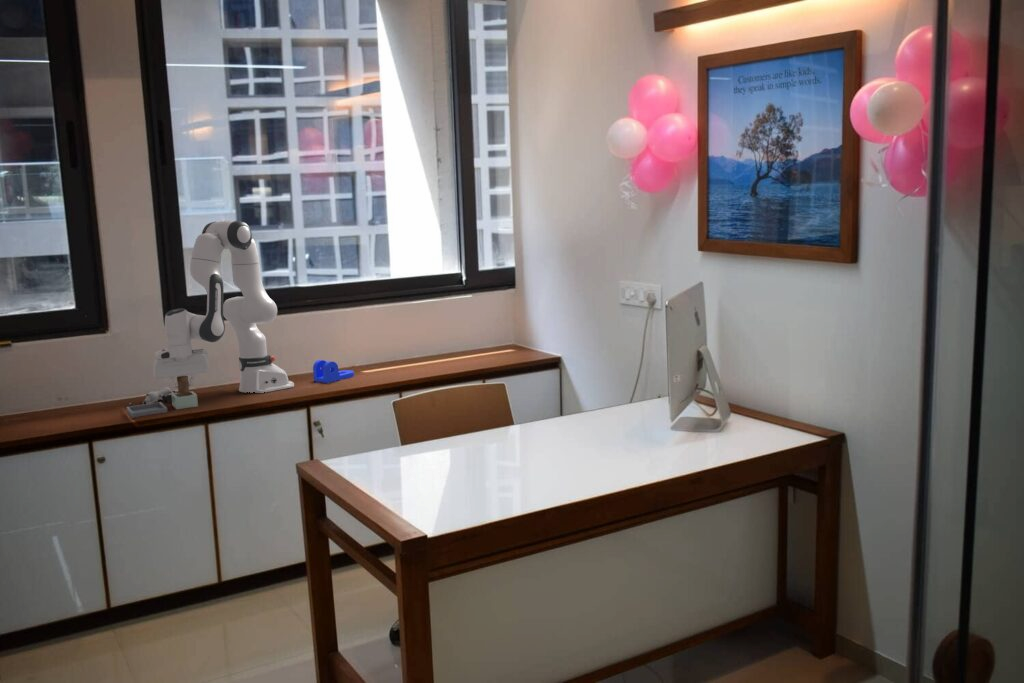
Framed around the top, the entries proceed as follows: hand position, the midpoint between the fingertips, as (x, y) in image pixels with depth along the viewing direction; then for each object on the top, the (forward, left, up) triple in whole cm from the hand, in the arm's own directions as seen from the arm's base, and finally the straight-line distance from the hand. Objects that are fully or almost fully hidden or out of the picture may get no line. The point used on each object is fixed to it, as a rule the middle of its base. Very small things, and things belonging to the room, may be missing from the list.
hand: (183, 386), depth 358 cm
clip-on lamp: (+9, -14, -9) cm, 19 cm away
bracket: (-67, -15, -9) cm, 69 cm away
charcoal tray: (+14, 0, -9) cm, 16 cm away
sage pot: (0, 0, -9) cm, 9 cm away
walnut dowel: (0, 0, -8) cm, 8 cm away
